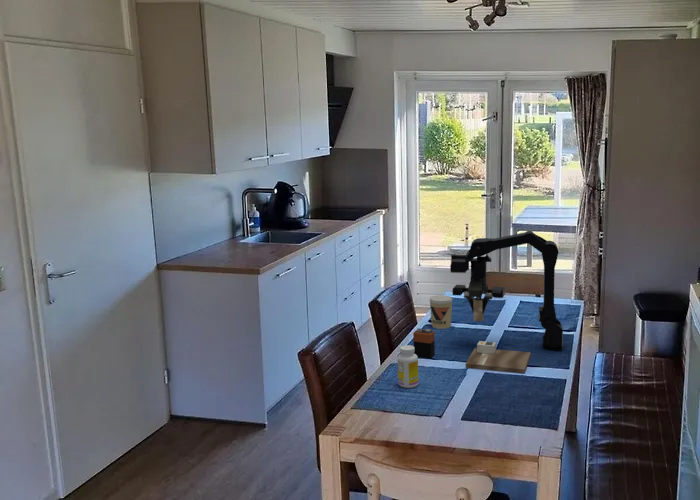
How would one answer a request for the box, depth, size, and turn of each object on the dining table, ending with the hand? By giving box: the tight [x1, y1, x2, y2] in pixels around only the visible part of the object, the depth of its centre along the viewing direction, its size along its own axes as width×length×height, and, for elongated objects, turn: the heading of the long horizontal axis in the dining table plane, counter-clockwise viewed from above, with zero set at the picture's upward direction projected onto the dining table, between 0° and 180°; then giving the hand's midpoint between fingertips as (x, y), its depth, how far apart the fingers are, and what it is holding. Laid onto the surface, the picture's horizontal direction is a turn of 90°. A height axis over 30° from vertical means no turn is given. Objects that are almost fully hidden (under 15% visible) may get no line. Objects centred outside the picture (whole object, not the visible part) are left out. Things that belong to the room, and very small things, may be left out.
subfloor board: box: [465, 347, 532, 374], centre depth 248 cm, size 20×17×2 cm
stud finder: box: [476, 340, 497, 354], centre depth 254 cm, size 6×4×3 cm, turn 69°
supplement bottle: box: [397, 344, 419, 389], centre depth 230 cm, size 7×7×13 cm
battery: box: [412, 327, 436, 359], centre depth 257 cm, size 4×7×10 cm, turn 61°
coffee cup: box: [429, 294, 453, 330], centre depth 289 cm, size 9×9×12 cm
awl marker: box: [473, 297, 485, 322], centre depth 264 cm, size 3×3×9 cm
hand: (478, 313), depth 264 cm, fingers closed on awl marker, 3 cm apart
